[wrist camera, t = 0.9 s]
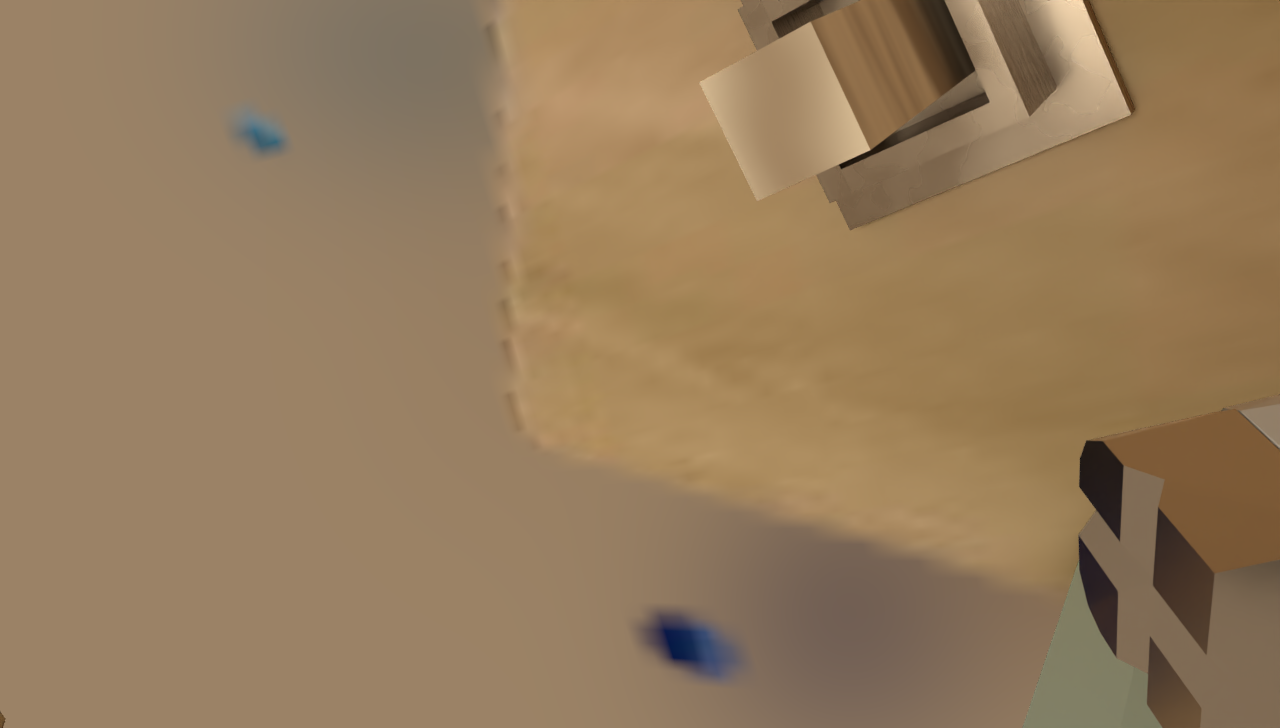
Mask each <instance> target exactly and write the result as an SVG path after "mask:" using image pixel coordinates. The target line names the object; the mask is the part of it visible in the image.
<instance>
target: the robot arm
mask: <svg viewBox="0 0 1280 728" xmlns="http://www.w3.org/2000/svg"><path fill="white" fill-rule="evenodd" d="M1079 487H1080V489H1081V490H1082V491H1083V493H1084V494H1085V495H1086V497H1087V498H1088V499H1089V501H1090V502H1091V503H1092V505H1093V506H1094V507H1095V509H1096V511H1095V513H1094V514H1093V516H1092V517H1091V518H1090V520H1089V521H1088V522H1087V524H1086V525H1085V527H1084V528H1083V529H1082V531H1081V532H1080V533H1079V571H1080V575H1081V579H1082V583H1083V587H1084V591H1085V595H1086V599H1087V603H1088V607H1089V609H1090V611H1091V613H1092V616H1093V618H1094V620H1095V622H1096V624H1097V627H1098V629H1099V631H1100V633H1101V635H1102V636H1103V638H1104V639H1105V641H1106V642H1107V644H1108V646H1109V647H1110V649H1111V650H1112V652H1113V653H1114V655H1115V657H1116V658H1117V659H1119V660H1121V661H1123V662H1125V663H1127V664H1129V665H1131V666H1133V667H1135V668H1137V669H1139V670H1141V671H1143V672H1145V673H1147V674H1148V687H1147V705H1148V707H1149V708H1150V710H1151V711H1152V713H1153V714H1154V716H1155V717H1156V719H1157V720H1158V722H1159V723H1160V725H1161V726H1162V728H1280V394H1279V395H1275V396H1271V397H1267V398H1263V399H1259V400H1254V401H1250V402H1246V403H1242V404H1238V405H1234V406H1230V407H1225V408H1223V409H1222V410H1221V411H1219V412H1213V413H1208V414H1204V415H1199V416H1195V417H1190V418H1186V419H1181V420H1177V421H1172V422H1168V423H1163V424H1159V425H1154V426H1150V427H1145V428H1140V429H1136V430H1131V431H1127V432H1122V433H1118V434H1113V435H1109V436H1104V437H1100V438H1095V439H1091V440H1086V443H1085V446H1084V448H1083V451H1082V454H1081V457H1080V475H1079ZM4 723H5V718H4V716H3V715H2V713H1V712H0V728H3V726H4Z"/></svg>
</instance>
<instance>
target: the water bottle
mask: <svg viewBox="0 0 1280 728" xmlns="http://www.w3.org/2000/svg"><path fill="white" fill-rule="evenodd" d="M1147 687H1148V674H1147V673H1145V672H1143V671H1141V670H1139V669H1137V668H1135V667H1133V666H1131V665H1129V664H1127V663H1125V662H1123V661H1121V660H1119V659H1117V658H1116V657H1115V655H1114V653H1113V652H1112V650H1111V649H1110V647H1109V646H1108V644H1107V642H1106V641H1105V639H1104V638H1103V636H1102V635H1101V633H1100V631H1099V629H1098V627H1097V624H1096V622H1095V620H1094V618H1093V616H1092V613H1091V611H1090V609H1089V607H1088V603H1087V599H1086V595H1085V591H1084V587H1083V583H1082V579H1081V575H1080V571H1079V561H1078V564H1077V567H1076V570H1075V573H1074V576H1073V579H1072V582H1071V585H1070V588H1069V591H1068V594H1067V597H1066V600H1065V603H1064V606H1063V609H1062V612H1061V615H1060V618H1059V621H1058V624H1057V627H1056V630H1055V632H1054V635H1053V638H1052V641H1051V644H1050V648H1049V651H1048V653H1047V656H1046V659H1045V662H1044V666H1043V668H1042V671H1041V674H1040V677H1039V680H1038V683H1037V686H1036V689H1035V692H1034V695H1033V698H1032V701H1031V704H1030V707H1029V710H1028V713H1027V716H1026V719H1025V722H1024V725H1023V728H1162V726H1161V725H1160V723H1159V722H1158V720H1157V719H1156V717H1155V716H1154V714H1153V713H1152V711H1151V710H1150V708H1149V707H1148V705H1147Z"/></svg>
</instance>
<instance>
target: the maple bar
mask: <svg viewBox="0 0 1280 728" xmlns="http://www.w3.org/2000/svg"><path fill="white" fill-rule="evenodd" d="M974 71H975V67H974V65H973V63H972V61H971V58H970V56H969V54H968V52H967V50H966V47H965V45H964V43H963V41H962V38H961V36H960V34H959V32H958V29H957V27H956V25H955V23H954V20H953V18H952V16H951V14H950V11H949V9H948V7H947V5H946V2H945V0H860V1H858V2H856V3H853V4H851V5H848V6H846V7H844V8H841V9H839V10H837V11H834V12H832V13H830V14H827V15H825V16H823V17H820V18H818V19H816V20H813V21H811V22H809V23H807V24H805V25H803V26H802V27H800V28H798V29H796V30H794V31H792V32H791V33H789V34H787V35H785V36H783V37H781V38H780V39H778V40H776V41H774V42H772V43H770V44H769V45H767V46H765V47H763V48H761V49H759V50H758V51H756V52H754V53H752V54H750V55H748V56H747V57H745V58H743V59H741V60H739V61H738V62H736V63H734V64H732V65H730V66H728V67H727V68H725V69H723V70H721V71H719V72H717V73H716V74H714V75H712V76H710V77H708V78H706V79H705V80H703V81H701V82H699V83H700V85H701V87H702V89H703V91H704V93H705V95H706V97H707V100H708V102H709V104H710V106H711V108H712V110H713V112H714V114H715V116H716V118H717V120H718V122H719V124H720V126H721V128H722V130H723V132H724V134H725V136H726V139H727V141H728V143H729V145H730V147H731V149H732V151H733V153H734V155H735V157H736V159H737V161H738V163H739V165H740V167H741V169H742V171H743V173H744V175H745V178H746V180H747V182H748V184H749V186H750V188H751V190H752V192H753V194H754V196H755V198H756V200H757V201H759V200H761V199H763V198H766V197H768V196H770V195H772V194H774V193H777V192H779V191H781V190H783V189H785V188H788V187H790V186H792V185H794V184H797V183H799V182H801V181H803V180H805V179H808V178H810V177H812V176H814V175H816V174H819V173H821V172H823V171H825V170H827V169H830V168H832V167H834V166H836V165H839V164H841V163H843V162H845V161H847V160H850V159H852V158H854V157H856V156H858V155H861V154H863V153H865V152H867V151H869V150H871V149H873V148H874V147H875V146H876V145H878V144H879V143H880V142H882V141H883V140H884V139H886V138H887V137H888V136H890V135H891V134H892V133H894V132H895V131H896V130H898V129H899V128H900V127H902V126H903V125H904V124H905V123H907V122H908V121H909V120H911V119H912V118H913V117H915V116H916V115H917V114H919V113H920V112H921V111H923V110H924V109H925V108H927V107H928V106H929V105H931V104H932V103H933V102H935V101H936V100H937V99H938V98H940V97H941V96H942V95H944V94H945V93H946V92H948V91H949V90H950V89H952V88H953V87H954V86H956V85H957V84H958V83H960V82H961V81H962V80H964V79H965V78H966V77H967V76H969V75H970V74H971V73H973V72H974Z"/></svg>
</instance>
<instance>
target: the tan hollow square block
mask: <svg viewBox="0 0 1280 728" xmlns="http://www.w3.org/2000/svg"><path fill="white" fill-rule="evenodd" d="M858 1H860V0H741V2H742V4H743V7H741V8H739V9H737V10H738V12H739V14H740V16H741V18H742V20H743V22H744V24H745V26H746V28H747V30H748V33H749V35H750V37H751V39H752V41H753V43H754V45H755V47H756V49H757V51H758V50H759V49H761V48H763V47H765V46H767V45H769V44H770V43H772V42H774V41H776V40H778V39H780V38H781V37H783V36H785V35H787V34H789V33H791V32H792V31H794V30H796V29H798V28H800V27H802V26H803V25H805V24H807V23H809V22H811V21H813V20H816V19H818V18H820V17H823V16H825V15H827V14H830V13H832V12H834V11H837V10H839V9H841V8H844V7H846V6H848V5H851V4H853V3H856V2H858ZM945 2H946V5H947V7H948V9H949V11H950V14H951V16H952V18H953V20H954V23H955V25H956V27H957V29H958V32H959V34H960V36H961V38H962V41H963V43H964V45H965V47H966V50H967V52H968V54H969V56H970V58H971V61H972V63H973V65H974V67H975V71H974V72H973V73H971V74H970V75H969V76H967V77H966V78H965V79H964V80H962V81H961V82H960V83H958V84H957V85H956V86H954V87H953V88H952V89H950V90H949V91H948V92H946V93H945V94H944V95H942V96H941V97H940V98H938V99H937V100H936V101H935V102H933V103H932V104H931V105H929V106H928V107H927V108H925V109H924V110H923V111H921V112H920V113H919V114H917V115H916V116H915V117H913V118H912V119H911V120H909V121H908V122H907V123H905V124H904V125H903V126H902V127H900V128H899V129H898V130H896V131H895V132H894V133H892V134H891V135H890V136H888V137H887V138H886V139H884V140H883V141H882V142H880V143H879V144H878V145H876V146H875V147H874V148H873V149H871V150H869V151H867V152H865V153H863V154H861V155H858V156H856V157H854V158H852V159H850V160H847V161H845V162H843V163H841V164H839V165H836V166H834V167H832V168H830V169H827V170H825V171H823V172H821V173H819V174H816V175H817V177H818V179H819V182H820V184H821V186H822V188H823V190H824V192H825V194H826V196H827V198H828V200H829V203H832V202H834V201H836V202H837V204H838V206H839V208H840V210H841V212H842V214H843V216H844V219H845V221H846V223H847V225H848V227H849V229H850V230H852V229H854V228H857V227H859V226H862V225H864V224H867V223H869V222H871V221H874V220H876V219H879V218H881V217H884V216H886V215H888V214H891V213H893V212H896V211H898V210H901V209H903V208H905V207H908V206H910V205H913V204H915V203H918V202H920V201H922V200H925V199H927V198H930V197H932V196H935V195H937V194H940V193H942V192H944V191H947V190H949V189H952V188H954V187H957V186H959V185H961V184H964V183H966V182H969V181H971V180H974V179H976V178H978V177H981V176H983V175H986V174H988V173H991V172H993V171H995V170H998V169H1000V168H1003V167H1005V166H1008V165H1010V164H1013V163H1015V162H1017V161H1020V160H1022V159H1025V158H1027V157H1030V156H1032V155H1034V154H1037V153H1039V152H1042V151H1044V150H1047V149H1049V148H1051V147H1054V146H1056V145H1059V144H1061V143H1064V142H1066V141H1068V140H1071V139H1073V138H1076V137H1078V136H1081V135H1083V134H1086V133H1088V132H1090V131H1093V130H1095V129H1098V128H1100V127H1103V126H1105V125H1107V124H1110V123H1112V122H1115V121H1117V120H1120V119H1122V118H1124V117H1127V116H1129V115H1131V114H1132V113H1133V111H1134V110H1135V108H1134V106H1133V104H1132V101H1131V99H1130V97H1129V94H1128V92H1127V89H1126V87H1125V85H1124V82H1123V80H1122V78H1121V75H1120V73H1119V71H1118V68H1117V66H1116V64H1115V61H1114V59H1113V57H1112V54H1111V52H1110V50H1109V47H1108V45H1107V42H1106V40H1105V38H1104V35H1103V33H1102V31H1101V28H1100V26H1099V24H1098V21H1097V19H1096V17H1095V14H1094V12H1093V10H1092V7H1091V5H1090V3H1089V0H945Z"/></svg>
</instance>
